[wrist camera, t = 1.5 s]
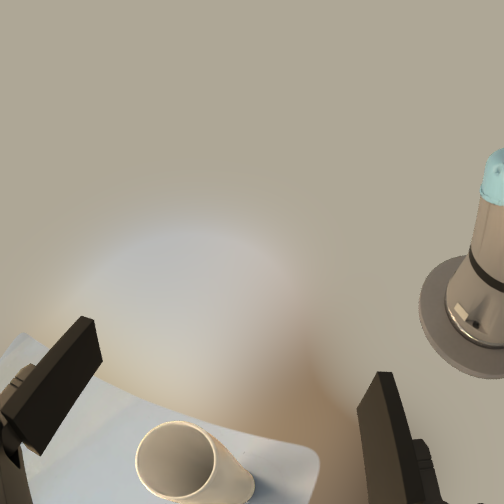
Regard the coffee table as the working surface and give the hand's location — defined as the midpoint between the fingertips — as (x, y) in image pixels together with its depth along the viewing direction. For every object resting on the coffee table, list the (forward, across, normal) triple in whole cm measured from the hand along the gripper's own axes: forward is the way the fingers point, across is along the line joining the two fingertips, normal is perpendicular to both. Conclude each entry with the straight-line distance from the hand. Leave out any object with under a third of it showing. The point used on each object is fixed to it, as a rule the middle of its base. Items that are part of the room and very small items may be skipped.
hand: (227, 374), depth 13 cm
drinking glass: (+4, +2, -24) cm, 25 cm away
